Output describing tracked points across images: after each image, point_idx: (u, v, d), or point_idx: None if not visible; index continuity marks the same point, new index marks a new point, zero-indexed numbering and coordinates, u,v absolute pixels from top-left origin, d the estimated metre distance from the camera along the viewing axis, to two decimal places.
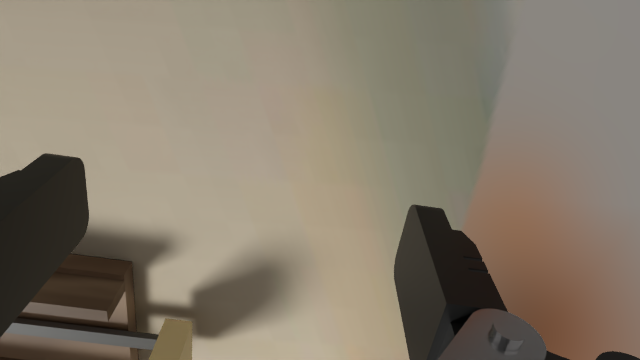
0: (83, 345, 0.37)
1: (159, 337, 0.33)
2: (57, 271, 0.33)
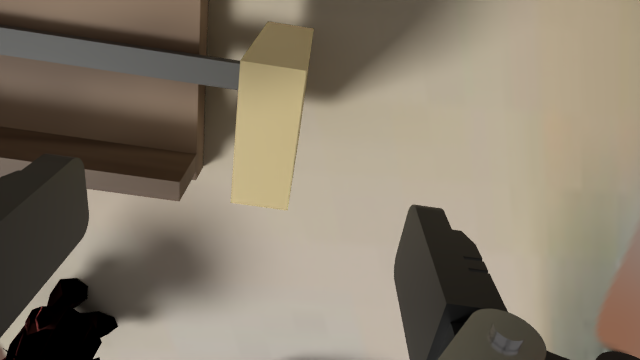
0: (120, 95, 0.22)
1: (265, 29, 0.18)
2: None
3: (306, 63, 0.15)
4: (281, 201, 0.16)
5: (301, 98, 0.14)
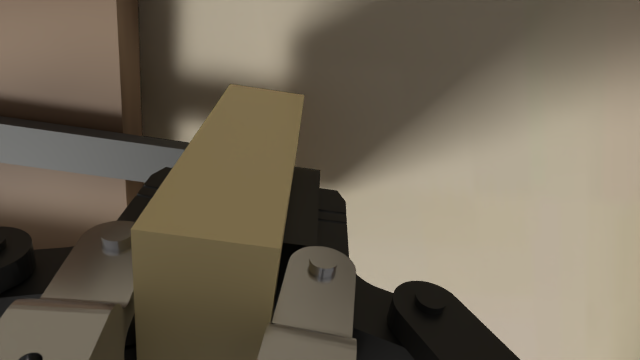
0: (6, 189, 0.14)
1: (220, 105, 0.11)
2: None
3: (283, 213, 0.07)
4: None
5: (271, 298, 0.07)
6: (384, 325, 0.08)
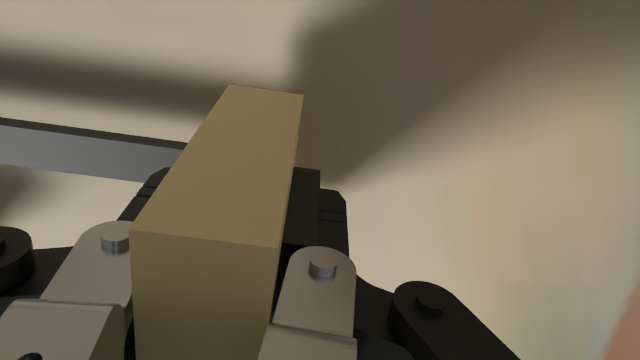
0: None
1: (219, 105, 0.11)
2: None
3: (281, 213, 0.07)
4: None
5: (269, 297, 0.07)
6: (384, 325, 0.08)
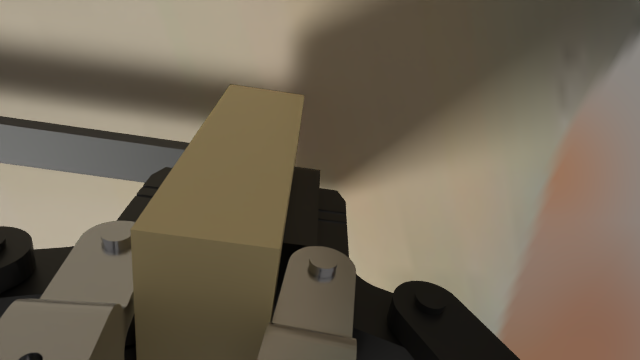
0: None
1: (220, 106, 0.11)
2: None
3: (282, 214, 0.07)
4: None
5: (270, 298, 0.07)
6: (384, 325, 0.08)
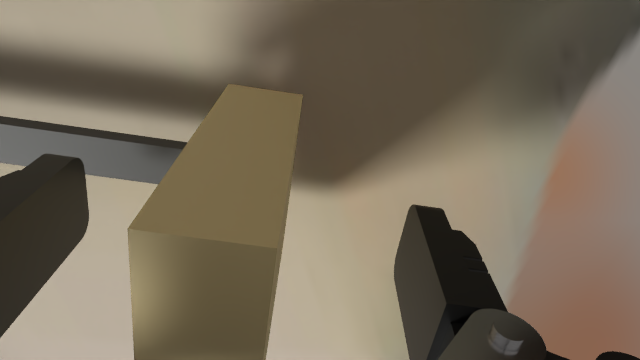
0: None
1: (218, 105, 0.11)
2: None
3: (280, 213, 0.07)
4: None
5: (268, 298, 0.07)
6: None
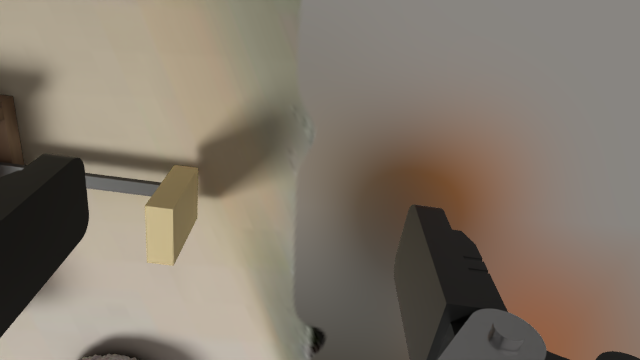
0: None
1: (169, 174, 0.38)
2: None
3: (176, 203, 0.34)
4: (170, 261, 0.35)
5: (172, 219, 0.34)
6: None
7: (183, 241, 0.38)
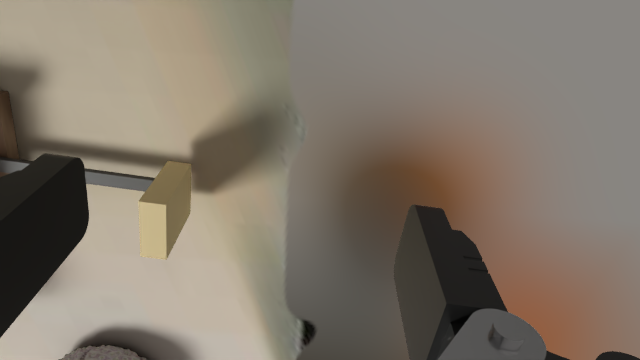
0: None
1: (162, 170, 0.38)
2: None
3: (169, 199, 0.35)
4: (163, 255, 0.36)
5: (165, 215, 0.34)
6: None
7: (176, 236, 0.38)
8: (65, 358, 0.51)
